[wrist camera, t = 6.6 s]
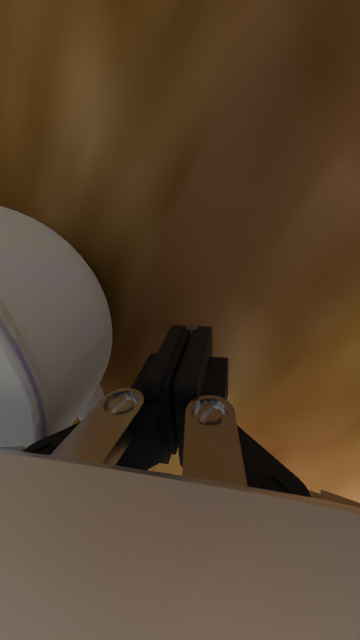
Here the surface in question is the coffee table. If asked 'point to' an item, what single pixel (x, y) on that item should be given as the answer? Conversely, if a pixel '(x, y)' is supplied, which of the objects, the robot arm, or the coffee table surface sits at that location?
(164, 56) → the coffee table surface
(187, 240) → the coffee table surface
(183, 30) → the coffee table surface
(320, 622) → the robot arm
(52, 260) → the teacup
